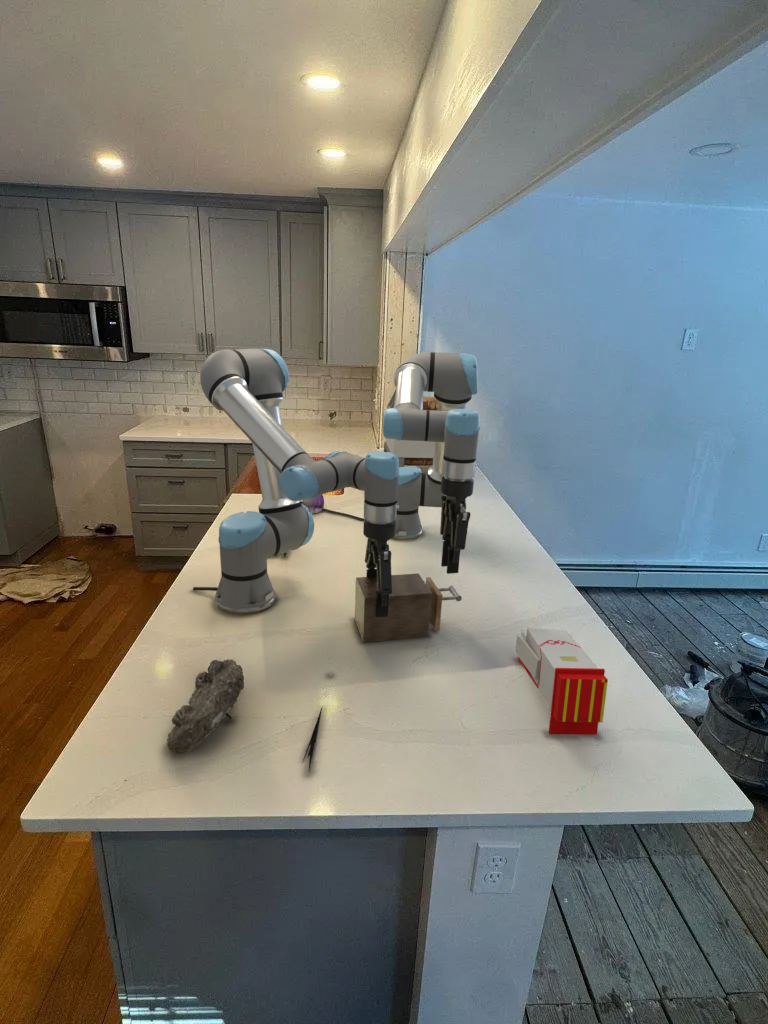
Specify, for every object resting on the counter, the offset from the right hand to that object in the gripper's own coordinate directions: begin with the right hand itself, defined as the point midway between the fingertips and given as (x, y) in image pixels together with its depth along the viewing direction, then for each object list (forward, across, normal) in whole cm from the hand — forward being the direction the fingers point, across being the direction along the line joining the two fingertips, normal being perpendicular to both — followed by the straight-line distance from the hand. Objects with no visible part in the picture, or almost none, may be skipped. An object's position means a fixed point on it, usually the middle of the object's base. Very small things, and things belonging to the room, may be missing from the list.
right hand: (449, 568), depth 139 cm
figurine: (+15, +88, +23) cm, 92 cm away
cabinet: (+15, 0, +14) cm, 21 cm away
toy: (+15, -30, -13) cm, 36 cm away
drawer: (+14, 0, +8) cm, 16 cm away
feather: (+15, -30, +36) cm, 49 cm away
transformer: (+15, +135, -34) cm, 140 cm away
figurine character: (+15, +51, +37) cm, 65 cm away
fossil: (+15, -25, +56) cm, 63 cm away
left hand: (+8, 0, +18) cm, 20 cm away
